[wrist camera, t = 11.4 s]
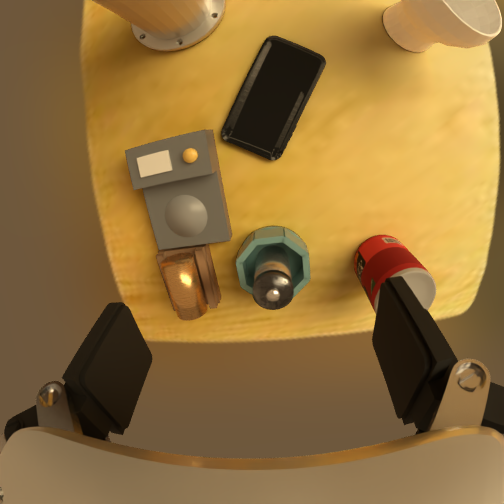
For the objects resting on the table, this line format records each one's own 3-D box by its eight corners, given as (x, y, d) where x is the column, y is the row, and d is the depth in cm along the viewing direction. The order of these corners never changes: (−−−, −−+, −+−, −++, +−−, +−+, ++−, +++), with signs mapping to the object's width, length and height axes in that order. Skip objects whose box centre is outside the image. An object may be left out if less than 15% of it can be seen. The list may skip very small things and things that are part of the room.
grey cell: (252, 247, 37) (248, 280, 29) (287, 242, 37) (291, 275, 29) (258, 277, 39) (255, 314, 31) (291, 272, 38) (295, 310, 31)
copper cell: (166, 254, 38) (155, 269, 34) (196, 250, 37) (188, 266, 33) (183, 306, 41) (175, 324, 37) (210, 304, 41) (205, 323, 37)
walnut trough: (161, 247, 39) (154, 256, 36) (207, 241, 38) (203, 250, 36) (178, 300, 43) (173, 310, 40) (221, 297, 42) (218, 307, 39)
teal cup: (234, 230, 37) (230, 241, 34) (304, 221, 36) (307, 232, 33) (245, 289, 41) (243, 304, 38) (309, 282, 40) (312, 297, 36)
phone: (218, 138, 32) (268, 33, 26) (219, 137, 33) (268, 35, 27) (278, 163, 33) (329, 59, 26) (278, 162, 34) (327, 61, 28)
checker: (140, 147, 33) (122, 150, 29) (212, 129, 32) (203, 129, 27) (163, 244, 39) (150, 259, 34) (232, 235, 38) (226, 250, 33)
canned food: (343, 250, 37) (366, 294, 28) (391, 222, 35) (428, 256, 25) (364, 290, 40) (386, 337, 30) (408, 264, 38) (441, 305, 28)
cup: (392, 66, 26) (457, 41, 13) (359, -1, 23) (401, -53, 9) (449, 59, 24) (518, 44, 10) (419, -4, 20) (473, -39, 7)
